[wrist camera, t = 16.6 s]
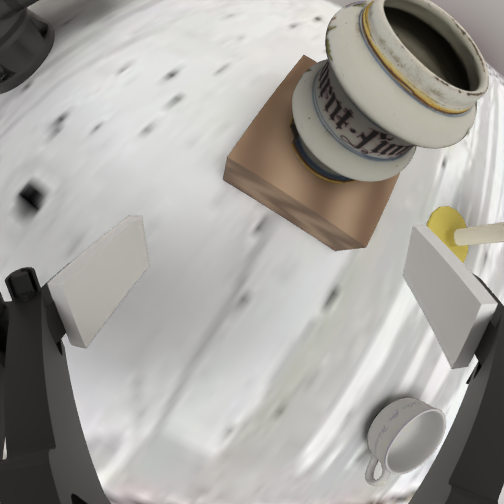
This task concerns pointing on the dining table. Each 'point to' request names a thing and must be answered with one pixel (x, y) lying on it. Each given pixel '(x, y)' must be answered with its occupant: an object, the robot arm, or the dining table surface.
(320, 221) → the walnut stand
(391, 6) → the apothecary jar
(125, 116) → the dining table surface
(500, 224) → the rod with yellow discs
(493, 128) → the dining table surface
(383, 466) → the teacup
